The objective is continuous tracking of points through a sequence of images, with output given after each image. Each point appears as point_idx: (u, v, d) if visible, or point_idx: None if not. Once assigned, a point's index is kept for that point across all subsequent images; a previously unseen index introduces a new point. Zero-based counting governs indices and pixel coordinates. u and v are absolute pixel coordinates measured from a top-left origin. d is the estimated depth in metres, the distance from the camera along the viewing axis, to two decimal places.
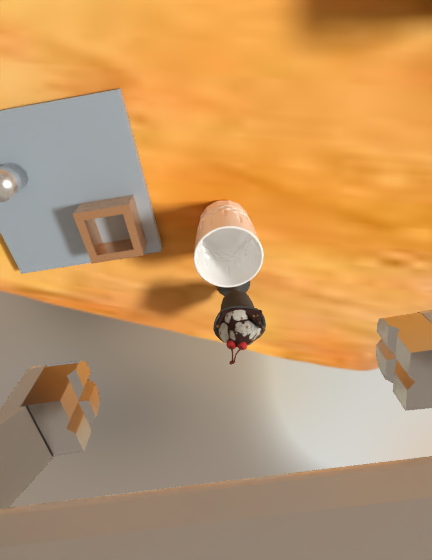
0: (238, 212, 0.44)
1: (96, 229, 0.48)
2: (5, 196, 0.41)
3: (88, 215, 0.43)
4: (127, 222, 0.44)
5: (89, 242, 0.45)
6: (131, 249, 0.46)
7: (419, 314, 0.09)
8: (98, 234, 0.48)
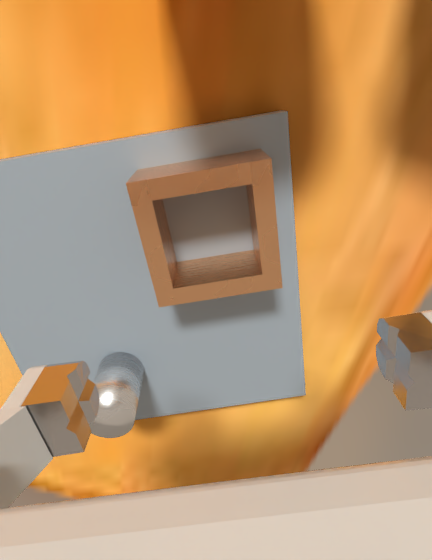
0: None
1: (217, 259, 0.22)
2: (122, 410, 0.22)
3: (160, 277, 0.19)
4: (174, 192, 0.17)
5: (226, 285, 0.20)
6: (253, 190, 0.18)
7: (419, 313, 0.09)
8: (229, 256, 0.22)
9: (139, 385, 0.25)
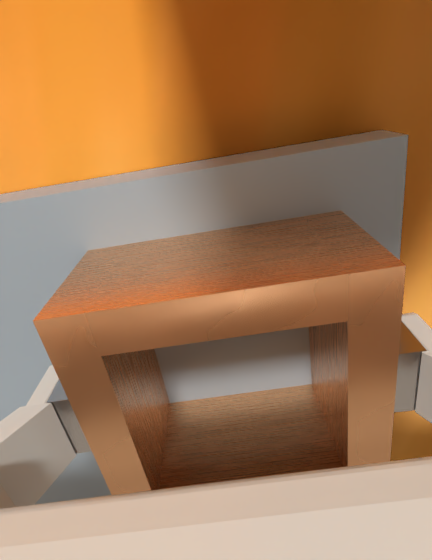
0: None
1: (245, 406, 0.12)
2: None
3: (129, 489, 0.09)
4: (155, 338, 0.07)
5: None
6: (346, 330, 0.07)
7: None
8: (268, 401, 0.12)
9: None
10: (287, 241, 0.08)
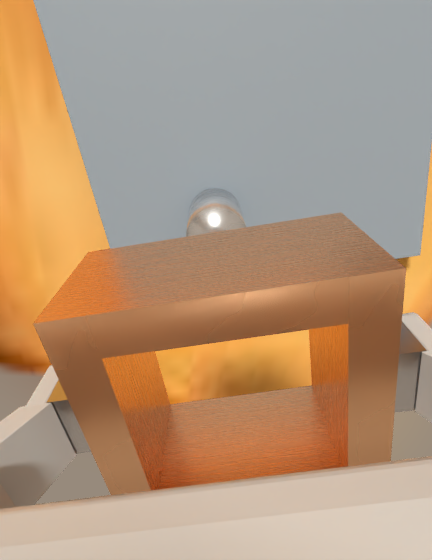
0: None
1: (245, 407, 0.12)
2: (235, 226, 0.18)
3: (130, 490, 0.09)
4: (155, 340, 0.07)
5: None
6: (346, 333, 0.07)
7: None
8: (268, 403, 0.12)
9: None
10: (287, 243, 0.08)
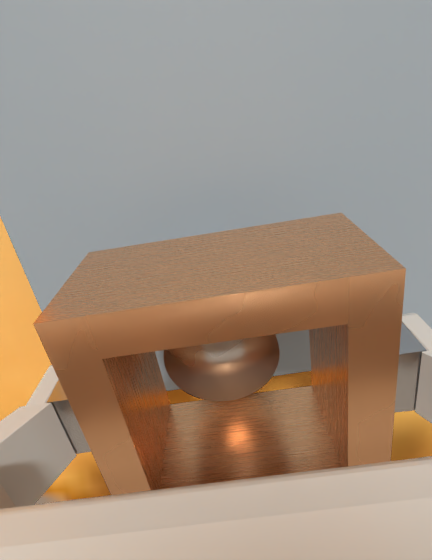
0: None
1: (245, 407, 0.12)
2: (257, 337, 0.10)
3: (130, 490, 0.09)
4: (155, 341, 0.07)
5: None
6: (346, 333, 0.07)
7: None
8: (268, 403, 0.12)
9: None
10: (287, 243, 0.08)
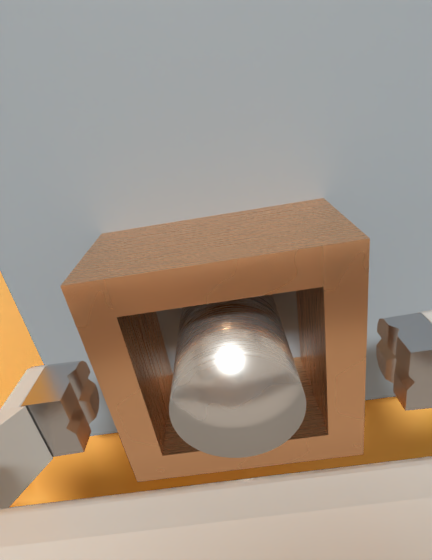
0: None
1: None
2: (280, 388, 0.08)
3: (138, 439, 0.10)
4: (162, 301, 0.08)
5: None
6: (322, 296, 0.09)
7: (418, 313, 0.09)
8: None
9: None
10: (275, 223, 0.10)
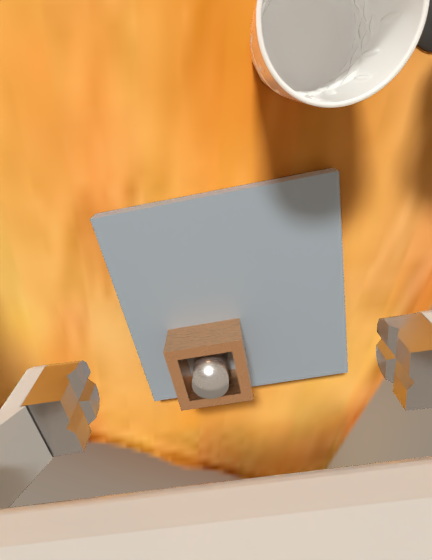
0: None
1: None
2: (221, 378, 0.31)
3: (182, 395, 0.33)
4: (189, 356, 0.31)
5: (220, 399, 0.34)
6: None
7: (419, 313, 0.09)
8: None
9: (227, 362, 0.34)
10: (221, 330, 0.33)
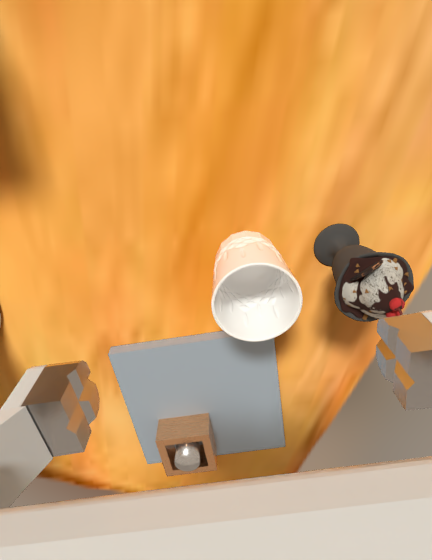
0: (217, 263, 0.36)
1: None
2: (194, 459, 0.46)
3: (167, 467, 0.48)
4: (173, 443, 0.46)
5: None
6: (202, 441, 0.47)
7: (419, 313, 0.09)
8: None
9: (199, 444, 0.49)
10: (195, 423, 0.48)
